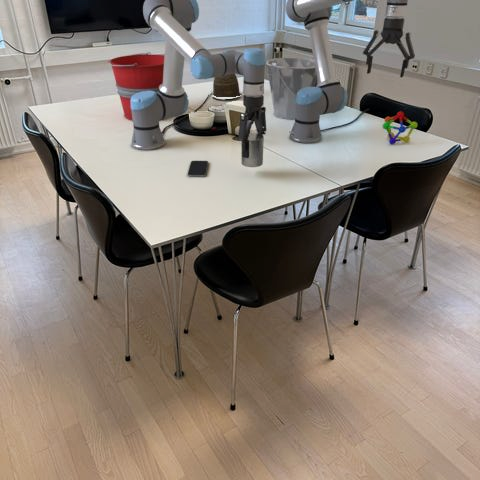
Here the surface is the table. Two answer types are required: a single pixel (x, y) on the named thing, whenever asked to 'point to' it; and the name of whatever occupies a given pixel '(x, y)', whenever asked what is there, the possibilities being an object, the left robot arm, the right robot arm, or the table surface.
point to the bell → (226, 86)
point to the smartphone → (198, 168)
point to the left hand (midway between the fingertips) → (252, 153)
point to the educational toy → (398, 128)
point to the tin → (254, 151)
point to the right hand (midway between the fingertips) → (384, 75)
